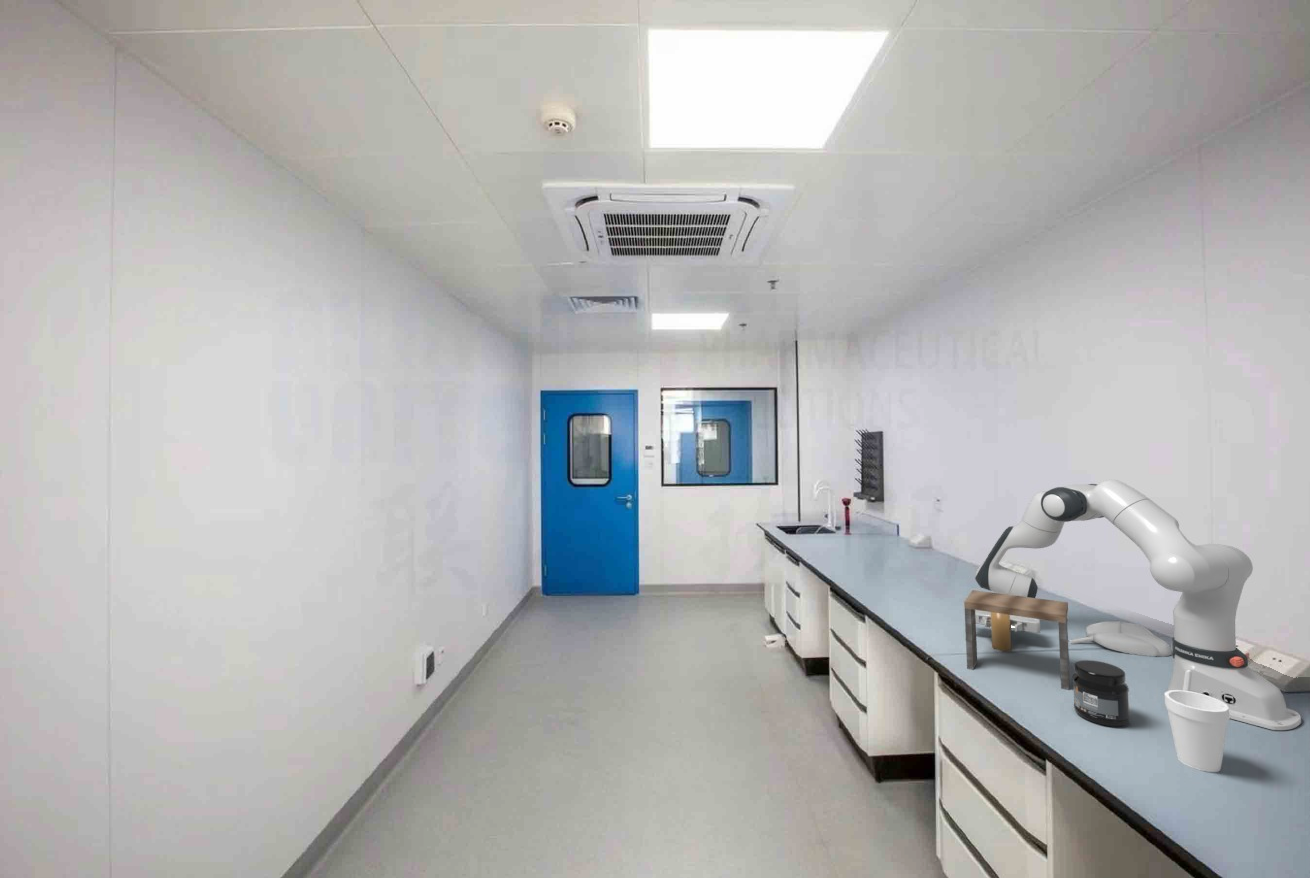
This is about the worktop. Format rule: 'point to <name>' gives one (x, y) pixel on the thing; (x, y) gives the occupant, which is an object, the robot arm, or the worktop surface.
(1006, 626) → the amber bottle
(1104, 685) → the supplement container
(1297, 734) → the worktop surface
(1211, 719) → the foam cup
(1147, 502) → the robot arm
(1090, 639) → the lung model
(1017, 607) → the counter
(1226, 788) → the worktop surface
